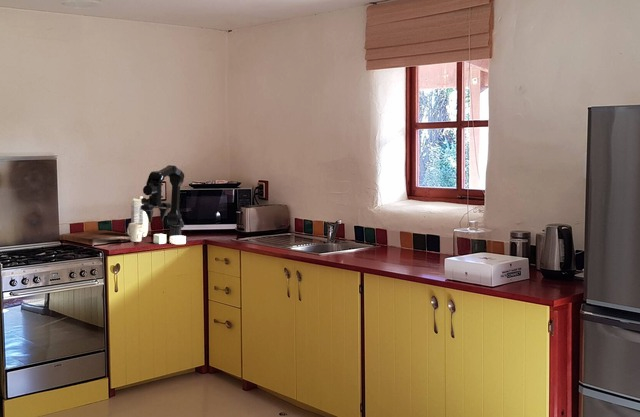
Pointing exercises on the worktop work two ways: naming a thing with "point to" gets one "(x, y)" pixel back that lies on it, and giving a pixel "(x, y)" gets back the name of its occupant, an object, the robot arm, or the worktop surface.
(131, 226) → the mug
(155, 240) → the white cube
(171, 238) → the cream tin
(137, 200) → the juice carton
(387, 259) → the worktop surface
